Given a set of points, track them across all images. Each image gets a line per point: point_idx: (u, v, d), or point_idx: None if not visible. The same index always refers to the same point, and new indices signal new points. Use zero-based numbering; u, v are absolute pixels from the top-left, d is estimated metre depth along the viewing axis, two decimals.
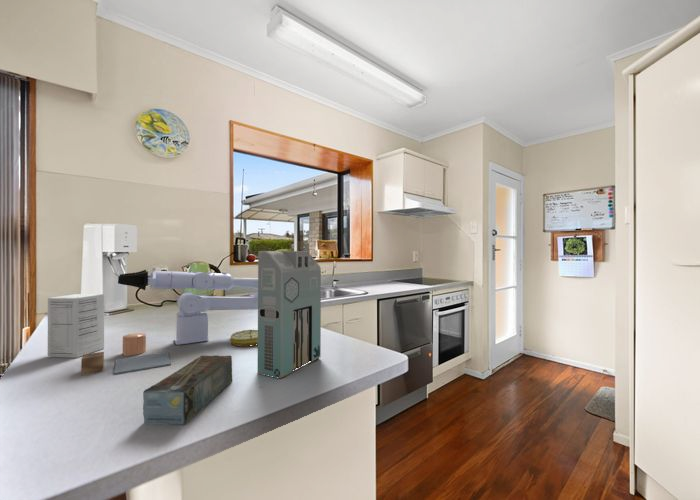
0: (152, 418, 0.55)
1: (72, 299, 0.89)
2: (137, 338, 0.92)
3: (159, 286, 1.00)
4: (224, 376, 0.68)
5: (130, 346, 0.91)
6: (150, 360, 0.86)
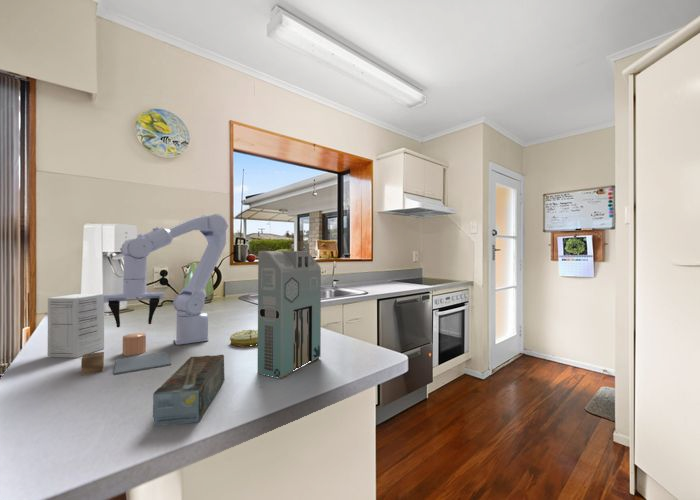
0: (163, 419, 0.54)
1: (72, 299, 0.89)
2: (137, 338, 0.92)
3: None
4: (220, 374, 0.69)
5: (130, 346, 0.91)
6: (150, 360, 0.86)
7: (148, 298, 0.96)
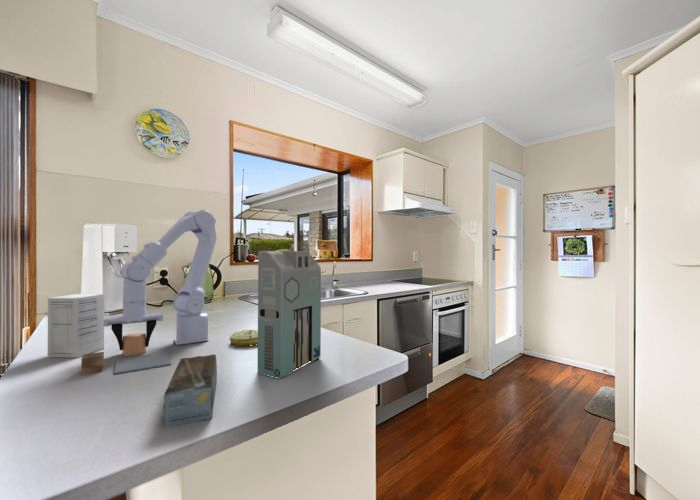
0: (175, 419, 0.54)
1: (72, 299, 0.89)
2: (137, 338, 0.92)
3: None
4: (216, 373, 0.70)
5: (130, 346, 0.91)
6: (150, 360, 0.86)
7: (148, 320, 0.96)
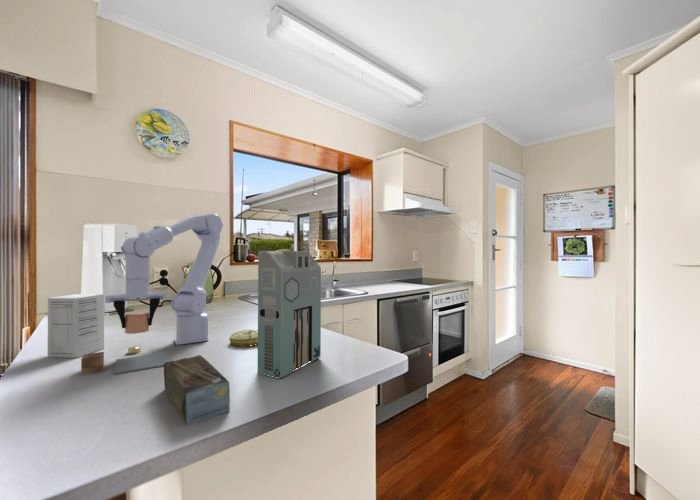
0: (196, 416, 0.55)
1: (72, 299, 0.89)
2: (140, 316, 0.89)
3: None
4: None
5: (133, 324, 0.88)
6: (150, 360, 0.86)
7: (151, 298, 0.93)
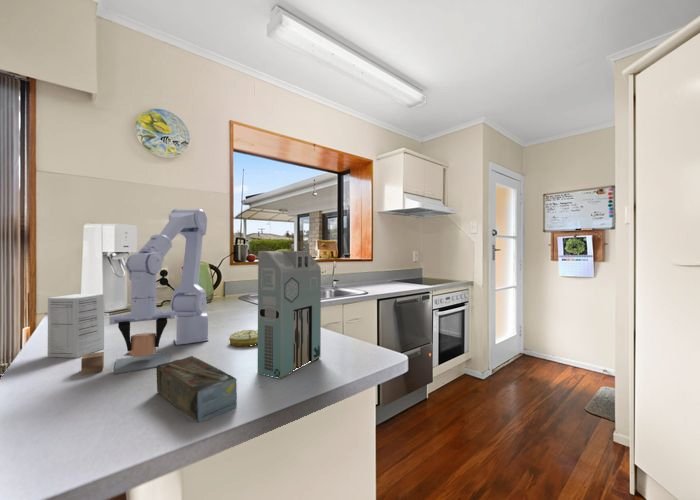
0: (207, 414, 0.56)
1: (72, 299, 0.89)
2: (146, 337, 0.83)
3: None
4: None
5: (139, 346, 0.82)
6: (150, 360, 0.86)
7: (158, 318, 0.87)
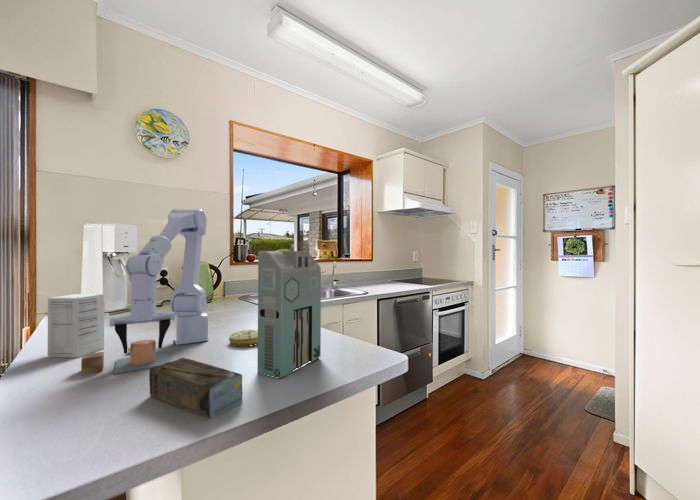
0: (217, 410, 0.58)
1: (72, 299, 0.89)
2: (146, 345, 0.83)
3: None
4: None
5: (139, 354, 0.82)
6: None
7: (158, 320, 0.87)
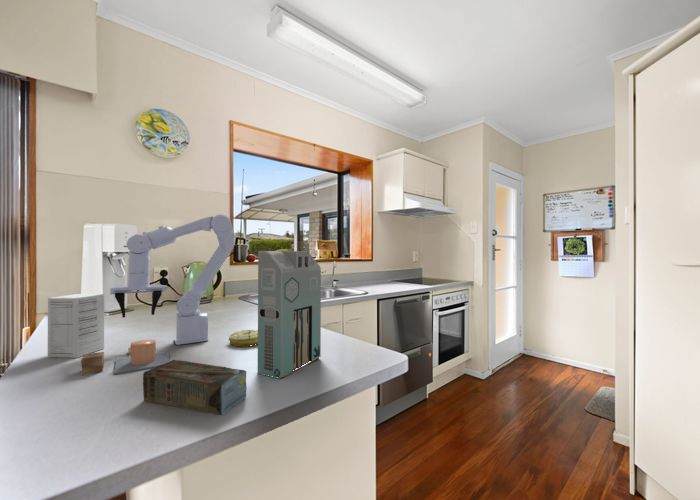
0: (227, 406, 0.59)
1: (72, 299, 0.89)
2: (146, 345, 0.83)
3: None
4: None
5: (139, 354, 0.82)
6: None
7: (151, 291, 1.03)
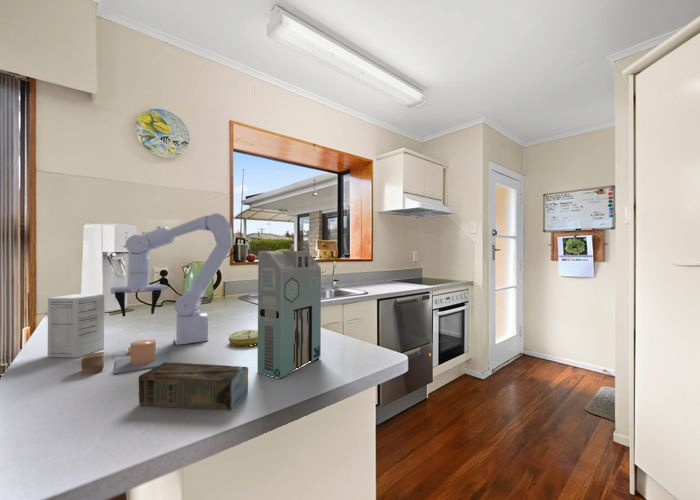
0: (235, 401, 0.61)
1: (72, 299, 0.89)
2: (146, 345, 0.83)
3: None
4: None
5: (139, 354, 0.82)
6: None
7: (151, 290, 1.05)
